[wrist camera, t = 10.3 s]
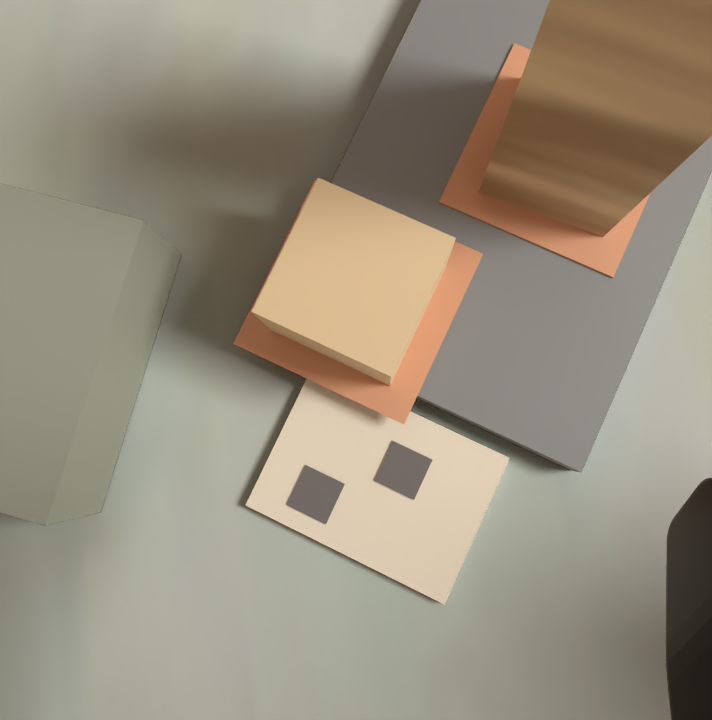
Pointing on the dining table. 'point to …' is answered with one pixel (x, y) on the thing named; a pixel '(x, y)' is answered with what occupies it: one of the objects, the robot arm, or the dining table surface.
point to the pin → (605, 109)
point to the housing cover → (71, 347)
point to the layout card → (379, 488)
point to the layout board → (464, 255)
